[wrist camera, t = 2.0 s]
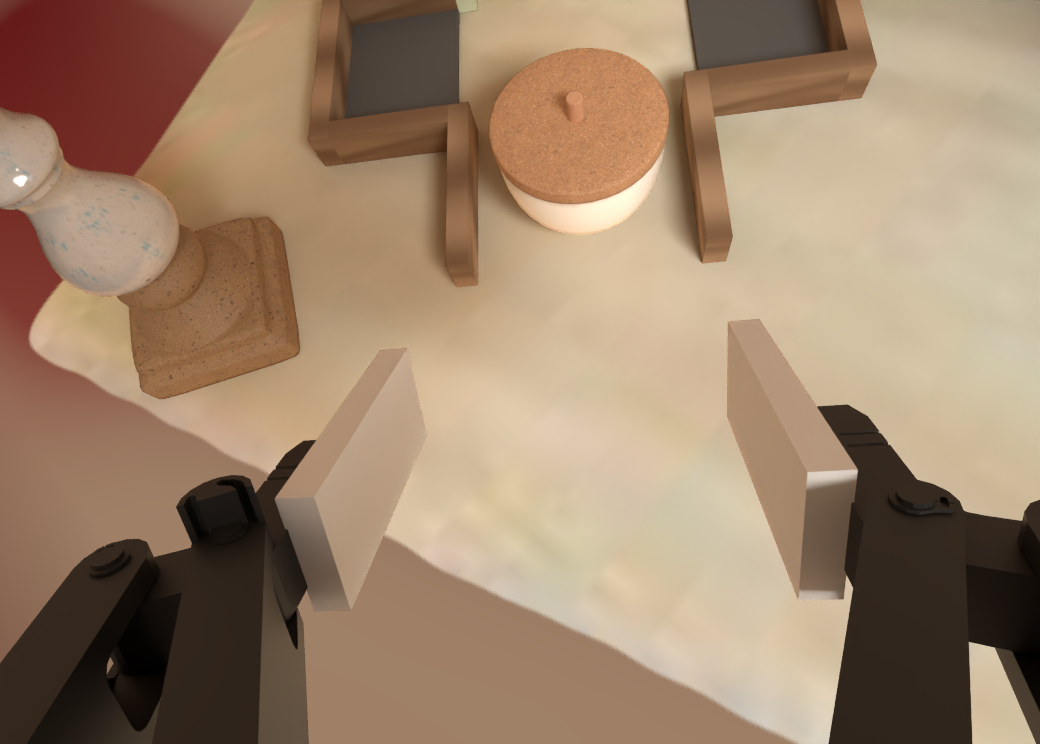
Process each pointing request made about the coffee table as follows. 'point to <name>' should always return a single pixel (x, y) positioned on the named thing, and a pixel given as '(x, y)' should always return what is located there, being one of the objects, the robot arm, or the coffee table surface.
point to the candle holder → (154, 264)
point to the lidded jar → (580, 138)
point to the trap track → (451, 127)
